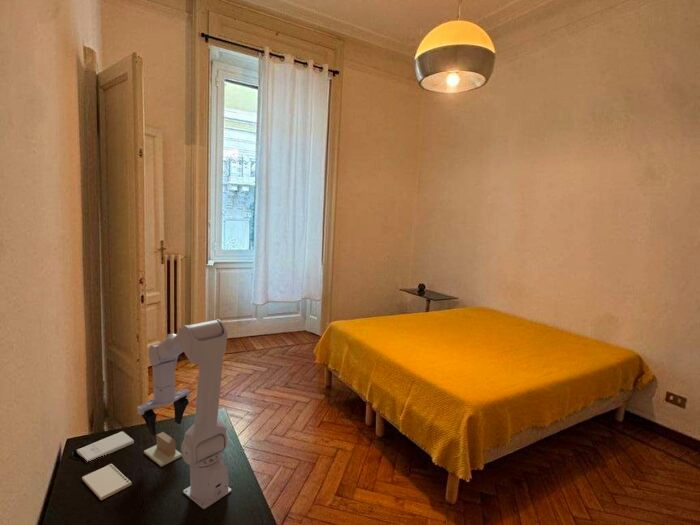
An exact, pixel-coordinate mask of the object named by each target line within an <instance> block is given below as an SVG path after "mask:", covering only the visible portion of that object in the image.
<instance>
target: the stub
mask: <svg viewBox="0 0 700 525" xmlns="http://www.w3.org/2000/svg"><path fill="white" fill-rule="evenodd" d="M155 437H156V444H155V445H153V446H151V447H149V448H147V449H145V450H143V454H144V455H146V456H147V457H149V459H151V460H152V461H153V462H154V463H156V464H157V465H159V467H164V466H165V465H167V464H169V463H172V462H174V461H176V460H177V459H180V458H181V457H182V452H180V451H178V449H177V448H176V439H174V438H173V437H171V436H170V435H169V434H167V433H166V432H165V431H161V432H160V433H157V434H155Z"/></svg>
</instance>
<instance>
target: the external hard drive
mask: <svg viewBox="0 0 700 525" xmlns="http://www.w3.org/2000/svg"><path fill="white" fill-rule="evenodd" d="M134 443H135V440H134V439H133V438H132V437H131V436H129V435H128V434H127V433H126V432H125V431H123V430H122V431H119V432H118V433H114V434H112V435H110V436H107V437H105V438H102V439H100V440H97V441H95V442H92V443H90V444H87V445H85V446H83V447H81V448H77V449H76V453H77V454H78V456H80V458H81V457H82V459H83V458H84V459H85V460H86V461H87V462H88V461H91V460H94V459H96V458H98V457H101V456H103V457H105V456H108V455H110V454H112V453H114V452H116V451H119V450H121V449H123V448H126V447H128V446H130V445H132V444H134ZM107 454H108V455H107ZM104 455H105V456H104ZM101 458H102V457H101ZM84 459H83V460H84ZM98 459H99V458H98ZM85 460H84V461H85ZM96 460H97V459H96ZM86 461H85V462H86ZM94 461H95V460H94ZM87 462H86V463H87ZM91 462H92V461H91Z"/></svg>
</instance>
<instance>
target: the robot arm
mask: <svg viewBox="0 0 700 525" xmlns="http://www.w3.org/2000/svg"><path fill="white" fill-rule="evenodd" d="M177 332H178V333H176V334H175V333H169V334H167V335H166V338H165V339H162V340H161V341H160V343H159V344H151V345H150V346H149V347H148V350H147V351H148V353H147V355H148V361H149V363H150V364H151V366H152V389H153V398H151V399H150V400H148V401H146V402H144V403H143V404H141V405H139V406H136V409H137V410H136V411H137V412H136V413H137V415H140V416H141V417H142V418H143V420H144V422H145V425H146V427H147V428H148V433H149V435H151V436H152V437H153V436H156V432H157V431H156V422H157V416H158V415H157V413H155V411H154V410H155V409H158V408H161V407H165V406H168V405H172V404H173V409H174V422H175V423H176V424H177V425H180V424H182V422H183V420H182V419H183V416H184V412H185V411H186V408H187V407H188V405H189V404H190V403H189V399H188V398H190V397H191V390H189V389H187V388H186V389H182V390H179V391H176V376H175V375H176V370H175V369H176V367H177V364H178V363H177V362H178V358H179V355H181V354H182V353H183V354H185V357H186V358H187V359H188V361H189V363H190V364H193V365H197V366H199V367H198V379H197V388H196V389H197V392H196V403H195V418H194V422H193V424H192V425H191V426H190V427H189V428H188V429H187V430H186V431H185V433H184V437H183V441H182V443H181V447H180V451H181V452H180V453H181V454H182V456H181V457H182V459H183V461H184V463H186V465H188V466H189V482H190V485H189V486H188V487H186V488H185V489H183V490H182V493H183V494H185V496H186V497H188V498H189V499H190V500H192V501H193V502H194V503H195V504H197V505H198V506H199V507H200V508H201V509H203V510H205V509H207V508H208V507H211V506H212V505H213V504H214V503H216V502H218V501H219V500H221V499H222V498H223V497H225V496H227V495H228V494H229V493H231V492H232V488H230V487H229V469H228V468H227V466H226V465H225V464H224V463H223V460H222V459H221V457H222V456H223V455H224V454H223V453H224V452H223V451H225V450H226V449H227V447H228V439H229V438H228V434H227V427H226V426H227V425H225V423H224V422H223V421H222V420H220V419H218V414H219V404H220V394H221V384H222V374H223V372H222V371H223V362H224V359H223V358H224V356H225V354H226V352H227V351H226V350H227V345H228V344H227V343H228V342H227V341H228V331H227V329H226V326H225V324H224V323H223V321H222V320H221V319H219V318H214V319H212V320H208V321H202V322H198V323H192V324H184V325H181V326H180V327H178V331H177Z"/></svg>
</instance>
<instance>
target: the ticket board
mask: <svg viewBox="0 0 700 525" xmlns="http://www.w3.org/2000/svg"><path fill="white" fill-rule="evenodd" d="M81 479H82V481H83V482H84V483H85V485H86V486H87V487H88V488H89V489H90V490H91V491H92V492H93V493H94V494H95V495H96V497H97V498H98V499H99V500H100V501H103V500H104V499H107V498H108V497H110V496H112V495H115V494H117V493H118V492H119V493H120V491H122V490H125V489H126V488H128V487H130V486H132V481H131V480H130V479H129V478H128V477H126V476H125V475H124V474H123V473H122V472H121V471H120V470H119V469H118V468H117V467H116V465H114V464H113V463H109V464H107V465H106V466H104V467H102V468H99V469H97V470H95V471H94V470H93V471H92V472H89V473H87V474H85V475H84V476H82V477H81Z"/></svg>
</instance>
